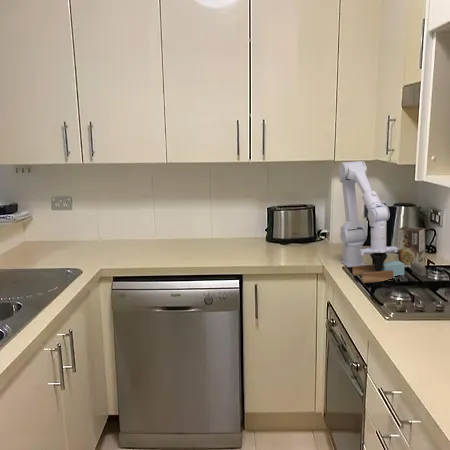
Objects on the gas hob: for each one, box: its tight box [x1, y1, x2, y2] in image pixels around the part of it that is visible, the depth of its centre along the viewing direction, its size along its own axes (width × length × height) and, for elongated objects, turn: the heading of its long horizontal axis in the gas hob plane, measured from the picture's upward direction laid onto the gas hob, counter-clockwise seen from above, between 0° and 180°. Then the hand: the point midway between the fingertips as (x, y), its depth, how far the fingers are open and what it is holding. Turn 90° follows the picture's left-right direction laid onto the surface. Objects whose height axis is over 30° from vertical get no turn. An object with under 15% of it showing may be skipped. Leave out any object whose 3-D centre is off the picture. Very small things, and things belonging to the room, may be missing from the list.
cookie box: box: [397, 225, 426, 269], centre depth 195 cm, size 9×6×16 cm
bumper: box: [410, 263, 427, 277], centre depth 188 cm, size 8×2×3 cm, turn 7°
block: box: [381, 260, 405, 276], centre depth 186 cm, size 5×8×5 cm, turn 97°
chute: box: [351, 263, 394, 284], centre depth 185 cm, size 11×12×4 cm
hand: (378, 271), depth 186 cm, fingers closed
